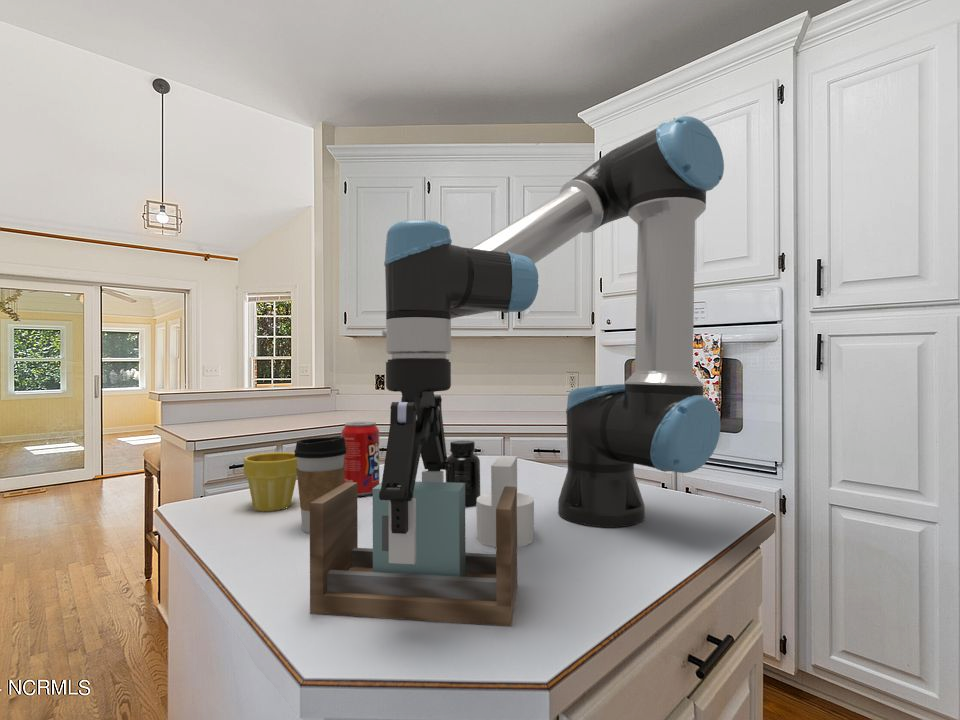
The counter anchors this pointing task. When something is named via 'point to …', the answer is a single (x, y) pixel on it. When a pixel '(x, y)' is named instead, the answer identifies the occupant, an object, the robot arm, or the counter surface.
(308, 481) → the coffee cup
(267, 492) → the plant pot
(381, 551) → the door panel
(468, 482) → the supplement bottle
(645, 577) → the counter surface
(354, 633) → the counter surface
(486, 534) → the cylinder with rectangular tab
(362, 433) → the soda can
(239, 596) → the counter surface
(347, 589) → the wooden book rack
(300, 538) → the counter surface
